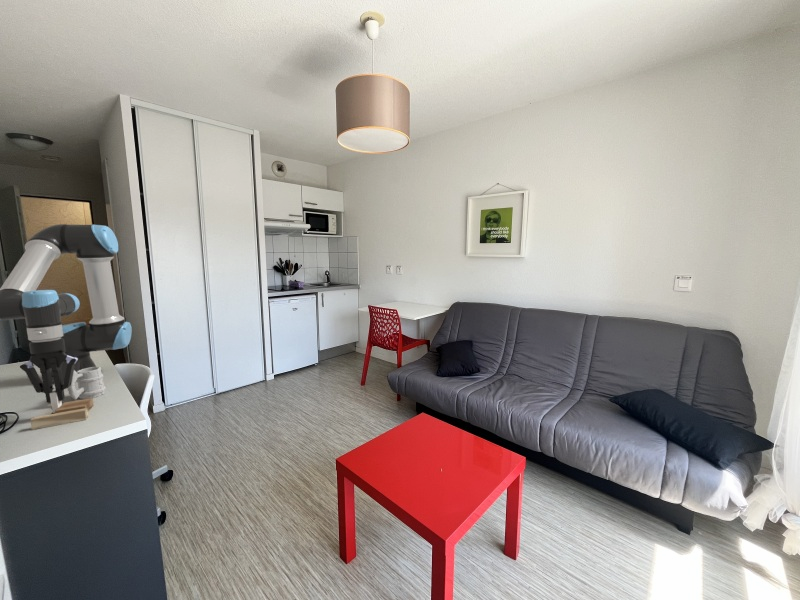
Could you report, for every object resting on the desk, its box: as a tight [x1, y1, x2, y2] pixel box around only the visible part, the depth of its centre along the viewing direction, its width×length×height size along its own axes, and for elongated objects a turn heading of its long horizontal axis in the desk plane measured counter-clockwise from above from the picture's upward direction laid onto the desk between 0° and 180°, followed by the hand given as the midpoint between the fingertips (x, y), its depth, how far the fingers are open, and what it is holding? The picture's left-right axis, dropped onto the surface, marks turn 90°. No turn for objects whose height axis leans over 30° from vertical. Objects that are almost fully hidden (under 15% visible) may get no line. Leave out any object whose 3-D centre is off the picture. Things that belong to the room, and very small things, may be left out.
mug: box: [67, 366, 107, 401], centre depth 118 cm, size 8×12×12 cm, turn 0°
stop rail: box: [29, 408, 89, 430], centre depth 99 cm, size 2×12×3 cm, turn 118°
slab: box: [54, 398, 95, 414], centre depth 107 cm, size 7×7×3 cm
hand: (57, 410), depth 105 cm, fingers closed
